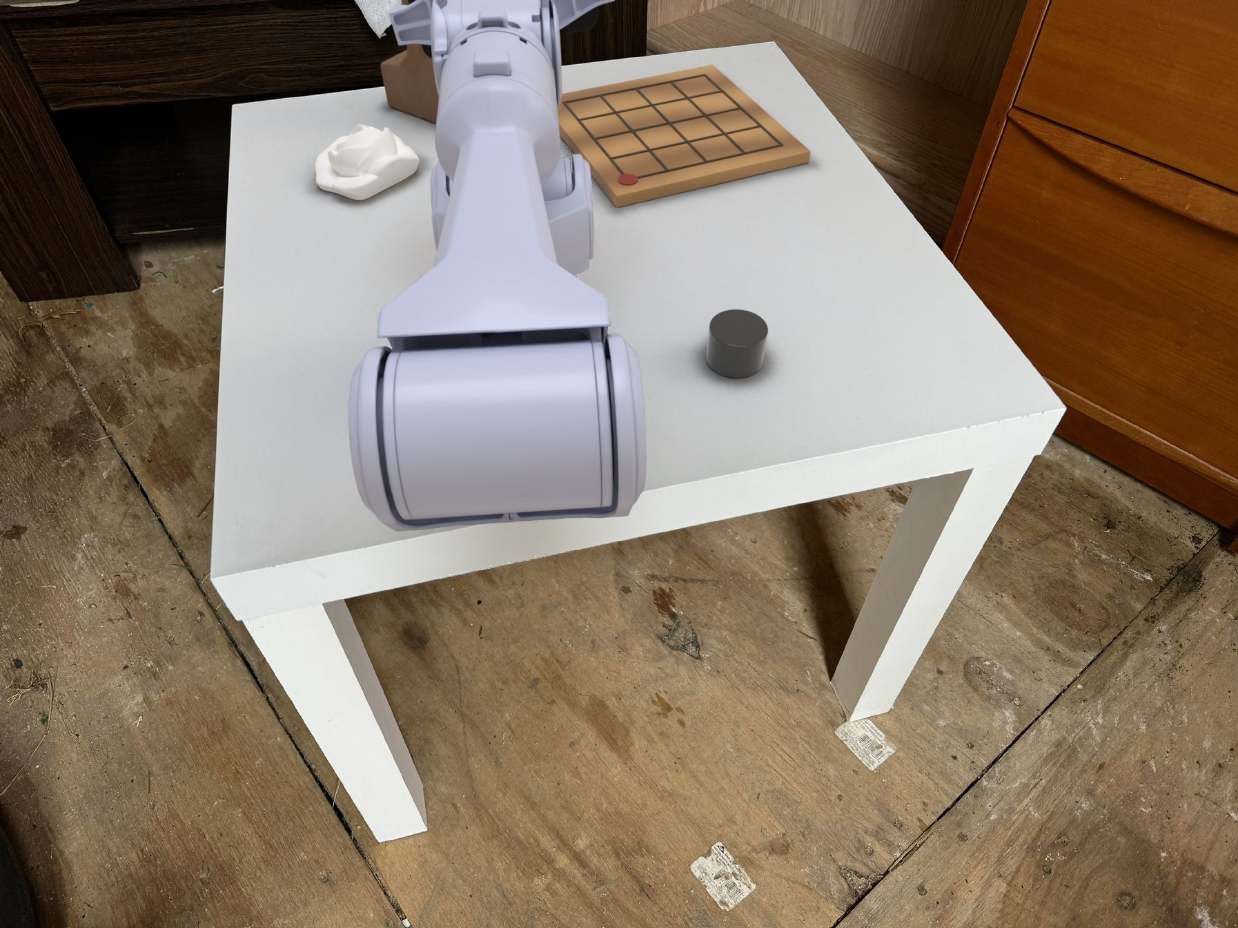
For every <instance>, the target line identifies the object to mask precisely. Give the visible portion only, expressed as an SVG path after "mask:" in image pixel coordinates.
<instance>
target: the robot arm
mask: <svg viewBox="0 0 1238 928" xmlns="http://www.w3.org/2000/svg"><path fill="white" fill-rule="evenodd" d="M612 2H615V0H408V3H409V5H402V4H401V5H397V6H393V7H392V8H391V9H390V11H389V13H388V15H389V18H390V22H391V26H392V29H393V32H394V35H395V39H396V41H397V45H398V46H407V44H421V46H422V49H423V51H424V53H425V54H426V55H427V56H428V57H430V58H432V60H433V69H434V76H435V82H436V87H437V92H438V95H439V101H438V112H437V120H436V123H435V131H434V146H435V152H436V156H437V159H438V162H437V164H436V165H435V166H434V168H433V169H432V170H431V174H430V204H431V225H432V233H433V239H434V245H435V251H436V254H435V258H434V262H433V266H432V268H431V269H429V270H428V271H427V272H426V273H425V274H424V275H422V276H421V277H419V278H418V279H417V280H416V281H415V282H413V283H412V284H410V285H409V286H408V287H407V288H405V289H404V290H403V291H401V292H400V293H399V294H398V295H396V296H395V297H393V299H391V300H390V301H389V302H388V303H386V304H385V305H384V306H383V307H382V308H381V309H380V311H379V314H378V318H377V319H378V320H377V332H376V338H377V339H387V341H388V342H389V344H390V346H391V347H389V346H387V345H380V346H372V347H370V348H369V349H368V350H367V351H366V353H365V354H364V356H363V358H362V359H361V360H360V361H359V363H358V364H357V365H356V366H355V368H354V370H353V373H352V375H351V379H350V385H349V391H348V392H349V394H348V410H347V411H348V414H347V417H348V418H347V419H348V421H347V422H348V438H349V439H348V440H349V441H348V442H349V450H350V458H351V464H352V470H353V471H352V472H353V475H354V480H355V484H356V488H357V491H358V494H359V497H360V499H361V501H362V503H363V505H364V506H365V507H366V508H367V509H368V510H369V511H370V512H371V513H372V514H373V515H374V516H375V518H376V519H377V520H378V521H379V522H380V523H381V524H382V525H384V526H386V527H388V528H389V529H391V530H393V531H394V532H410V531H411V532H412V531H426V530H432V529H433V530H434V529H439V528H440V529H441V528H448V527H457V526H460V527H461V526H474V525H475V526H476V525H488V524H489V525H490V524H503V523H504V524H505V523H517V522H535V521H549V520H562V519H564V520H565V519H609V518H624V517H628V516H629V515H630V513H631V510H632V509H633V506H634V505H635V504H637V502H638V500H639V498H640V496H641V495H642V493H643V492H644V491H645V487H646V481H647V435H646V434H647V432H646V431H647V430H646V429H647V428H646V414H645V413H646V411H645V400H644V389H643V380H642V379H643V378H642V372H641V365H640V360H639V357H638V353H637V350H636V349H635V348H634V347H633V346H632V345H631V344H629V343H628V342H627V341H625V338H624V336H623V334H620V333H609V327H611V326H612V320H611V319H612V318H611V310H610V303H609V300H608V298H607V297H606V296H605V295H603V294H602V293H601V292H599V291H598V290H596V289H595V288H594V287H592V286H590V285H588V284H587V283H586V282H584V281H583V280H581V279H580V278H579V277H577V276H576V275H579V274H582V273H583V272H585V271H588V270H589V269H590V266H591V265H590V263H591V260H592V259H593V258H594V244H595V222H594V200H593V199H594V198H593V185H592V183H593V182H592V176H591V172H590V166H589V163H588V162H587V161H586V160H585V159H583V157H582V155H581V154H574V153H573V154H572V155H571V157H570V156H569V157H565V156H564V157H560V156H561V144H562V143H561V136H560V133H559V121H558V109H559V104H560V102H561V96H562V94H563V71H562V53H561V52H562V51H561V49H562V48H561V33H560V30H562V29H563V28H564V33H565V35H570V34H576V33H581V32H585V31H588V30H591V29H593V28H594V27H595V26H596V25H597V23H598V21H599V16H600V15H599V6H602V5H605V4H608V3H612Z"/></svg>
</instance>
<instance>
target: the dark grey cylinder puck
mask: <svg viewBox="0 0 1238 928" xmlns="http://www.w3.org/2000/svg"><path fill="white" fill-rule="evenodd" d="M708 325H709V326H708V333H707V343H706V354H705V359H706V363H707V365H708V367H709V368H710V369H711V370H712V371H713V372H715V373H717V374H718V375H720V376H722V377H727V378H732V379H742V378H748V377H750V376H753V375H755V374H756V373H758V372H759V371H760V370H761V369H762V366H763V364H764V357H765V353H766V347H767V342H768V341H767V340H768V335H769V327H768V324H767V322H766V321H765V319H764V318H762V317H761V316H760V315H758V313H755V312H752V311H749V310H745V309H738V308H737V309H736V308H735V309H733V308H732V309H727V310H722V311H721V312H719V313H717V314H715V315H714V316H713V317H712V318H711V320H710V322H709V324H708Z"/></svg>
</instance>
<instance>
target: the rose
mask: <svg viewBox="0 0 1238 928" xmlns="http://www.w3.org/2000/svg"><path fill="white" fill-rule="evenodd" d="M420 162H421V159H420V158H419V157H418V155H417V153H416V152H415V151H414V150H413V148H411V147H410V146H408V145H406V144H405V143H404V141H403V140H402V139H401V138H400V137H399V136H398V135H396V134H394V133H393V132H392V130H391V129H390V128H389V127H384V128H383V130H380V128H376V127H374V126H371V125H368V126H367V125H365V124H362V123H358V124H356V125H354V127H353V128H352V130H351V132H350V134H349V135H342V136H340V137H337V138H336V139H335V140H334V141H333V142H332V143H331V144H330V145H329V146H328V147H326V148H325V149H324V150H323V151H322V152H321V153H320V154H319V155H318V156H317V157H316V160H315V162H314V172H315V175H316V176H315V183H316V185H317V186H318V187H319V188H320V189H321V190H322V191H326V192H330V193H335V194H338V195H340V196H344V197H346V198H348V199H351V200H355V201H364V200H366V199H369V198H371V197H373V196H375V195H377V194H379V193H381V192H382V191H384V190H387V189H388V188H390V187H392V186H394V185H396V184H399V183H400V182H403V181H404V180H406V179H408V178H409V177H410V176H412V175H413V174H414V173H415V172H416V171H417V170H418V169H419V168H418V166H419V164H420Z"/></svg>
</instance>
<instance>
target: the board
mask: <svg viewBox="0 0 1238 928" xmlns="http://www.w3.org/2000/svg"><path fill="white" fill-rule="evenodd" d="M558 121H559V133H560V138H561V139H562V140H563V141H564V143H565V144H566V145H567V146H568V148H569V149H570V150H571V151H572V153H573V154H581V155H582V157H583V159H585V160H586V161H587V162H588V163H589V166H590V172H591V178H593V179H594V181H595V182H596V183H597V185H598V186H599V187H600V189H601V190H602V191H603V192H604V193H605V195H606V196H607V197H608V199H609V200H610V201H611V202H612V204H613V205H614V206H615V208H621V207H626V206H629V205H633V204H634V205H635V204H638V203H642V202H647V201H650V200H655V199H659V198H664V197H667V196H671V195H672V196H673V195H676V194H681V193H684V192H689V191H693V190H698V189H702V188H706V187H710V186H715V185H719V184H723V183H727V182H731V181H732V182H733V181H737V180H741V179H744V178H749V177H753V176H757V175H761V174H766V173H771V172H774V171H775V172H776V171H778V170H783V169H787V168H792V167H795V166H800V165H804V164H808V163H810V158H811V150H810V149H809V148H807V146H805V145H804V144H803V143H802V142H801V141H800V140H799V139H798V138H797V137H795V135H793V134H792V133H791V132H789V130H787V128H785V127H784V126H783V125H782V124H781V123H779V121H777V120H776V119H775V118H774V117H773V116H771V114H769V113H768V112H767V111H766V110H765V109H764V108H762V107H761V106H760V105H759V104H758V103H757V102H756V101H755V100H753V99H752V98H751V97H750V96H749V95H748V94H746V92H744V91H743V90H742V89H741V88H740V87H738V85H736V84H735V83H734V81H732V80H731V79H729V77H727V75H725V74H724V73H723V72H722V71H720V69H718V68H717V66H715V65H714V64H709V65H703V66H699V67H693V68H688V69H684V70H678V71H673V72H668V73H663V74H657V75H652V76H647V77H641V78H636V79H631V80H626V81H621V82H620V81H619V82H616V83H615V82H614V83H611V84H606V85H605V84H604V85H599V86H595V87H590V88H584V89H579V90H575V91H574V90H573V91H569V92H562V96H561V102H560V104H559V109H558Z"/></svg>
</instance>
